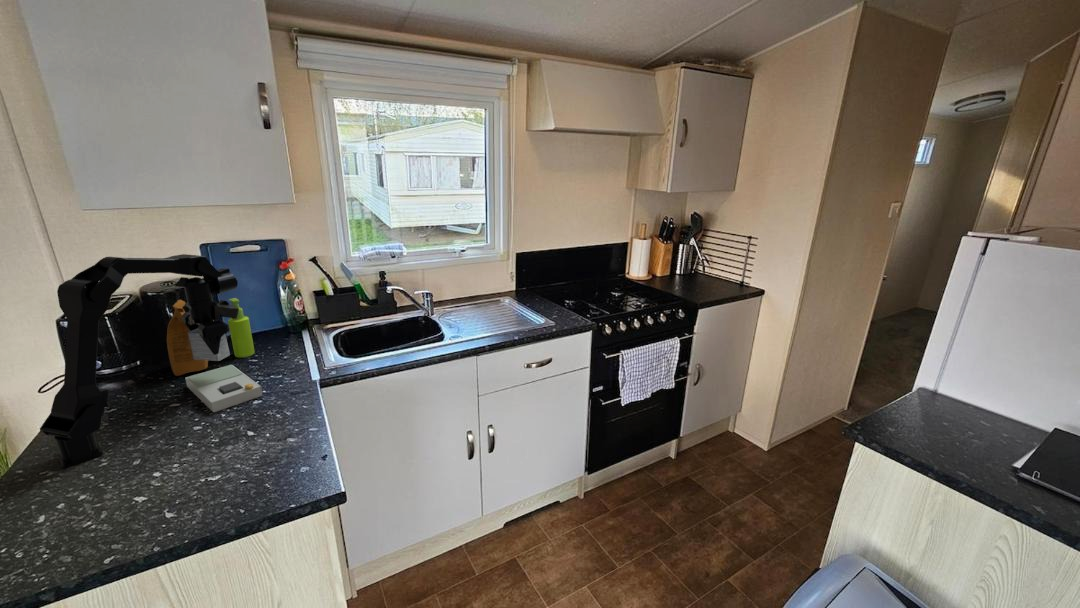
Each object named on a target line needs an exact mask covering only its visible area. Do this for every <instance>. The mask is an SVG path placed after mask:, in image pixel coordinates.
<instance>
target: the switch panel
mask: <svg viewBox="0 0 1080 608" xmlns="http://www.w3.org/2000/svg"><path fill="white" fill-rule="evenodd" d="M233 382H236V383H237V384H239V385H240V386H241V389H239V390H236V391H233V392H230V393H227V394H224V395H223V394H222V393H221V392H220V389H219V387H220V386H224V385H227V384H230V383H233ZM185 383H186V387H187V388H188V389H189V390H190V391H191V392H192V393H193V394H194V395H195V396H196V397H197V398H198V399H200V401H201V402H202V403H203V404H204V405H205V406H206V407H207V408H208V409H209V410H210V411H212V412H213V413H216V412H220V411H222V410H224V409H228V408H231V407H233V406H237V405H239V404H243V403H245V402H249V401H252V400H253V399H257V398H259V397H262V396H263V392H262V386H261V385H260V384H258V383H257V382H256V381H254V380H253V379H252V378H251V377H249V376H248V375H246V374H245V373H244V372H243V371H241V370H240V369H238V368H237V367H236V366H235V365H233V364H228V365H225V366H221V367H219V368H214V369H211V370H207V371H205V372H201V373H197V374H193V375H190V376H187V377H185Z"/></svg>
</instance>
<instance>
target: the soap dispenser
mask: <svg viewBox="0 0 1080 608" xmlns="http://www.w3.org/2000/svg"><path fill="white" fill-rule="evenodd" d="M227 301H228V302H231V303H232V304H231V305H233V306H236V307H238V308H239V311H238V316H237V319H233V318H228V320H227V324H228V326H229V332H230V333H229V334H230V338H231V343H232V348H233V352H234V353H233V354H234V357H235V358H247V357H251V356H252V355H254V354H255V353H256V352H255V346H254V345H255V344H254V339H253V335H252V329H251V324H250V323H251V322H250V318H249V316H246V315H244V310H243V308H242V307H240V304H239V303H240V300H239V299H238V298H237V297H233V298H228V299H227Z"/></svg>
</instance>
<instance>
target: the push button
mask: <svg viewBox="0 0 1080 608" xmlns="http://www.w3.org/2000/svg"><path fill="white" fill-rule="evenodd" d="M219 389H220V392H221V393H222V394H223V395H224V394H227V393H230V392H233V391H236V390H239V389H241V386H240V385H239V384H237V383H236V382H233V383H230V384H227V385H224V386H220V387H219Z"/></svg>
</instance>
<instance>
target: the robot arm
mask: <svg viewBox="0 0 1080 608" xmlns="http://www.w3.org/2000/svg"><path fill="white" fill-rule="evenodd" d="M167 273H169V274H175V275H182V276H190V277H191V276H192V277H191V278H188V277H182V276H181V277H180V278H179V280H177V282H176V283H175V284H174V286H175V287H177V288H184V293H185V297H186V302H185V306H186V307H187V308H188V311H187V312H186V311H185V313H184V314H183V315H182V316H181V317H182V322H183V323H185V326H186V327H187V328H188V329H189V330H190V331H192V330H195V329H198V331H199V334H200V335H199V336H200V337H201V338H202V340H203V341H204V342H205V344H206V345H207V346H208V348H209V349H210V350H211V352H212V353H213V354H214V355H216V354H218V353H219V347H220V341H221V337H222V336H223V335H224V334H225V335H226V334H228V333H229V332H230V329H229V323H226V322H224V321H223V320H222V318H228V319H231V318H233V319H237V316H238V311H239V308H238V307H236V306H233V304H230V303H229V300H222V299H221V300H219V302H216V301H215V300H214V299H213V295H215V296H216V295H220V294H224V293H226V292H227V293H228V292H229V291H233V290H235V289H237V287H238V282H239V281H238V279H237V277H236V276H235V275H234V274H233V273H232V272H231V271H230V268H225V267H222V268H219V269H217V268H216V267H215V266H214V265H212V264H211V263H210V260H209V259H208V258H207V256H205V255H198V254H197V255H196V254H184V253H183V254H177V255H170V256H168V257H163V258H162V257H161V258H159V257H155V258H154V257H119V256H105V257H103V258H101V259H99V261H97V262H96V263H95V264H94V265H92V266H90V267H87V268H85V269H84V270H82V271H80V272H79V273H76V274H75V275H74V276H73V277H72V278H71V279H68V280H65V281H64V282H62V283H61V284H59V286H58V288H57V290H56V294H57V299H58V303H59V304H58V305H59V308H60V310H61V311H62V313H63V315H64V316H65V318H66V321H67V323H66V342H65V360H64V375H63V376H64V378H63V379H64V380H63V384H62V386H61V388H59V390H58V391H57V393H56V394H55V395H54V397H53V402H52V406H51V409H50V413H49V415H47V417H46V419H45V420H44V422H43V423H42V425H41V426H40V427H39V431H40V432H41V433H43V434H44V435H45V436H53V437H54V441H55V444H56V446H57V449H58V451H59V452H58V453H59V454H57V458H58V461H59V463H60V466H61V468H62V469H64V468H65V469H66V468H68V467H69V468H70V467H72V466H74V465H76V464H79V463H82V462H86V461H88V460H92V459H94V458H96V457H100V456H102V455H104V451H103V450H102V448H101V446H100V443H99V442H98V441H96V438H95V434H94V433H95V432H97V431H99V430H100V429H101V422H102V417H103V415H104V414H105V411H106V408H109V405H108V396H109V390H108V389H104V388H99V386H98V384H97V379H96V378H97V366H98V365H97V362H98V345H99V327H100V326H99V325H100V320H101V319H102V317H103V316H104V314H106V313H107V310H108V309H109V306H110V302H111V298H112V295H113V294H114V293H115V292H116V291H117V290H118V289H120V288H121V285H122V283H123V281H124V279H125V277H126V276H127V275H128V274H131V275H132V274H167ZM201 277H202V278H201Z"/></svg>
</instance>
